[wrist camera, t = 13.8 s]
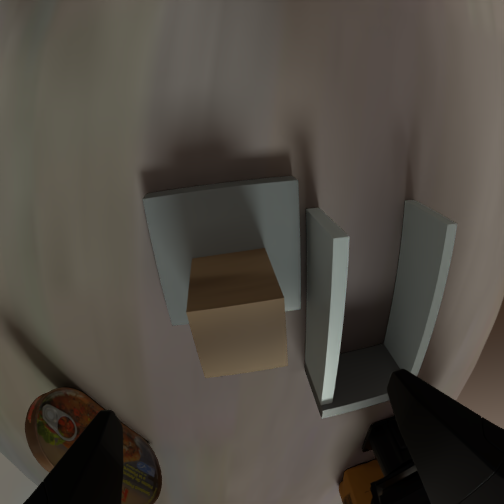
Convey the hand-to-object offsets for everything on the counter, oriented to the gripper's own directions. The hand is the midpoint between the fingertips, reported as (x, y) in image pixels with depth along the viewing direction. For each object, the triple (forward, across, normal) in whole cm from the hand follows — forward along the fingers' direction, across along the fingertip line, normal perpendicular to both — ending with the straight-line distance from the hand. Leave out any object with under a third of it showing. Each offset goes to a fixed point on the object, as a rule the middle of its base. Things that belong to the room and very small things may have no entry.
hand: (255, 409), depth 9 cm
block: (+10, 0, +1) cm, 10 cm away
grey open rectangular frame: (+11, -8, +4) cm, 14 cm away
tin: (+11, +14, +16) cm, 24 cm away
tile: (+11, 0, 0) cm, 11 cm away
